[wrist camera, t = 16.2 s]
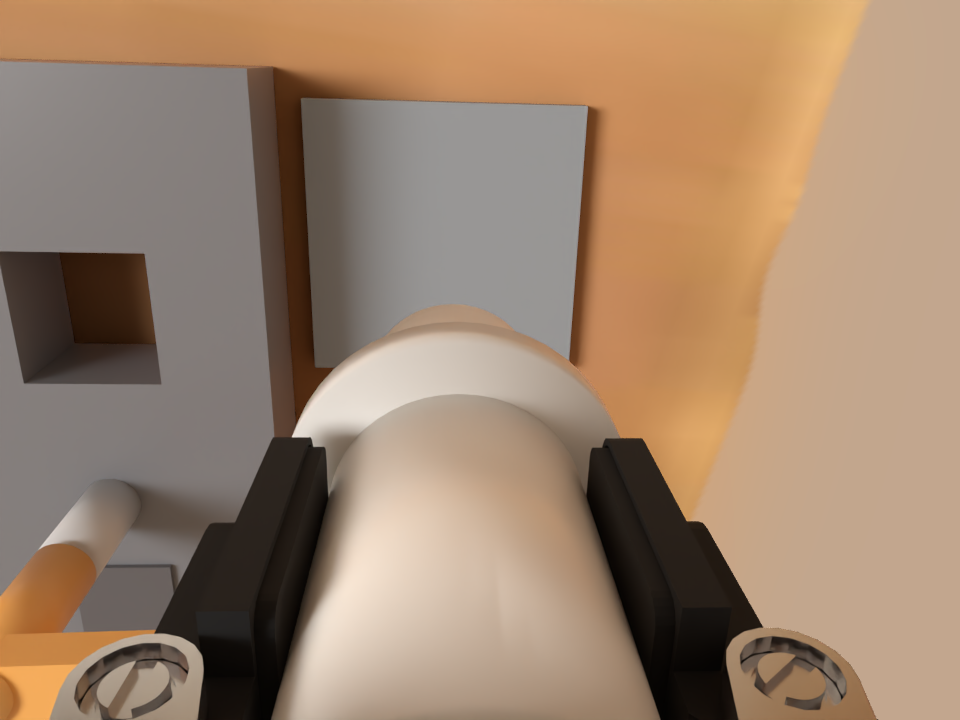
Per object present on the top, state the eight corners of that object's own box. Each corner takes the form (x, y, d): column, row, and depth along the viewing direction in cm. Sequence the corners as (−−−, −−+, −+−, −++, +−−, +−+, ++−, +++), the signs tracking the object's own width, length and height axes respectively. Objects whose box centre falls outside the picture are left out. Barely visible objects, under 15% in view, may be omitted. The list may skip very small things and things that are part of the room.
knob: (318, 255, 16) (86, 625, 6) (588, 259, 16) (852, 620, 6) (329, 493, 18) (174, 1094, 8) (569, 493, 18) (741, 1070, 8)
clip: (445, 531, 25) (447, 657, 20) (446, 587, 26) (448, 724, 20) (23, 541, 24) (-90, 674, 19) (38, 599, 25) (-67, 742, 20)
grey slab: (-87, 56, 26) (-284, 56, 19) (272, 66, 27) (213, 70, 20) (31, 591, 34) (-76, 733, 27) (306, 589, 35) (272, 726, 28)
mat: (303, 97, 27) (300, 98, 27) (584, 105, 28) (588, 106, 27) (317, 361, 31) (315, 367, 30) (565, 363, 32) (568, 369, 31)
